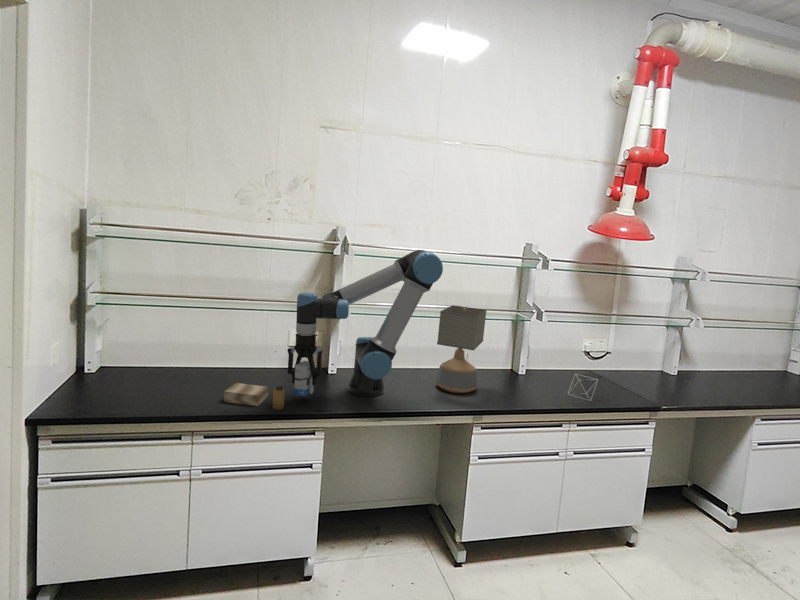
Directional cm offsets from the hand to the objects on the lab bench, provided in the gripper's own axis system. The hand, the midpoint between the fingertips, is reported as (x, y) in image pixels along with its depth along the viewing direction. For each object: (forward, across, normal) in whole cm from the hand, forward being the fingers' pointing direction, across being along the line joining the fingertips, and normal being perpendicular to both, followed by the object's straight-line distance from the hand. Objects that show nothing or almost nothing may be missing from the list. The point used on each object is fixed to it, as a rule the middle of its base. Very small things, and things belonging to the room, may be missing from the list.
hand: (303, 392), depth 208 cm
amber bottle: (+3, +7, +10) cm, 13 cm away
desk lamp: (+6, -59, -39) cm, 71 cm away
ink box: (+1, 0, 0) cm, 1 cm away
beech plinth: (+3, +21, +6) cm, 22 cm away
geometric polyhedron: (+8, -117, -50) cm, 128 cm away
